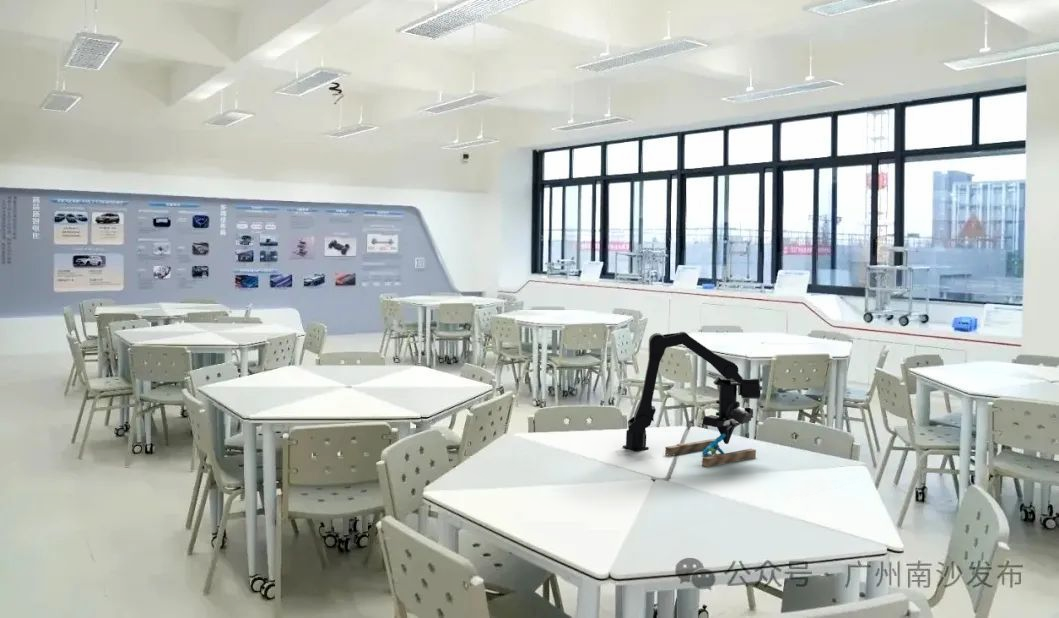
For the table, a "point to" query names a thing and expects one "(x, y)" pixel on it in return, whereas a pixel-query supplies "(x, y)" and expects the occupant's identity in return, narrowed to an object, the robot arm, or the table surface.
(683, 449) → the guide channel
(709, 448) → the gear
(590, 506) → the table surface
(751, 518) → the table surface
